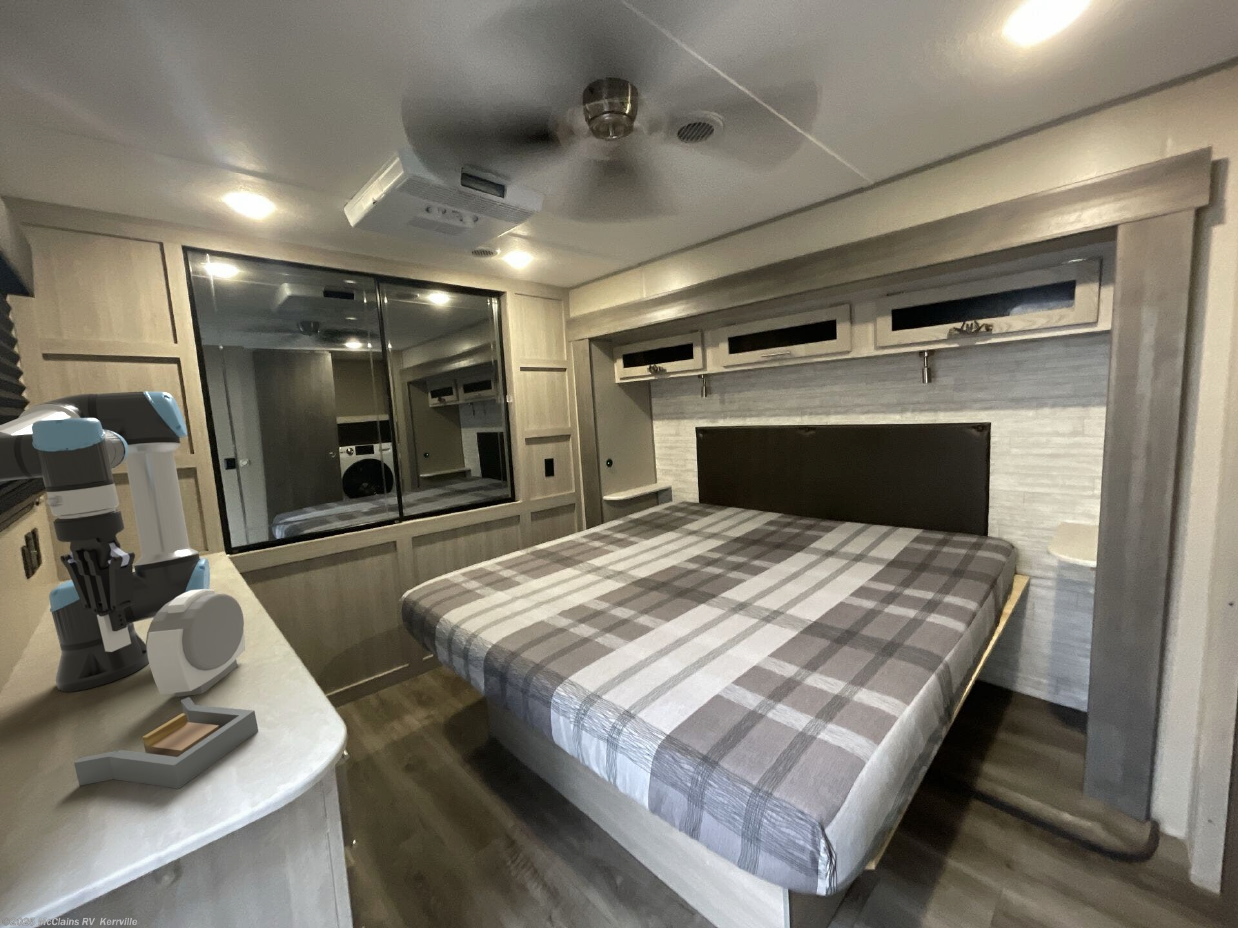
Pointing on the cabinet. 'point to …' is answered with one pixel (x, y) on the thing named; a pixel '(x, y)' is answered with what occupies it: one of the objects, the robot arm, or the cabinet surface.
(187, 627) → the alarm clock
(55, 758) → the cabinet surface
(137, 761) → the bay
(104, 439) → the robot arm
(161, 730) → the tan block yellow end
